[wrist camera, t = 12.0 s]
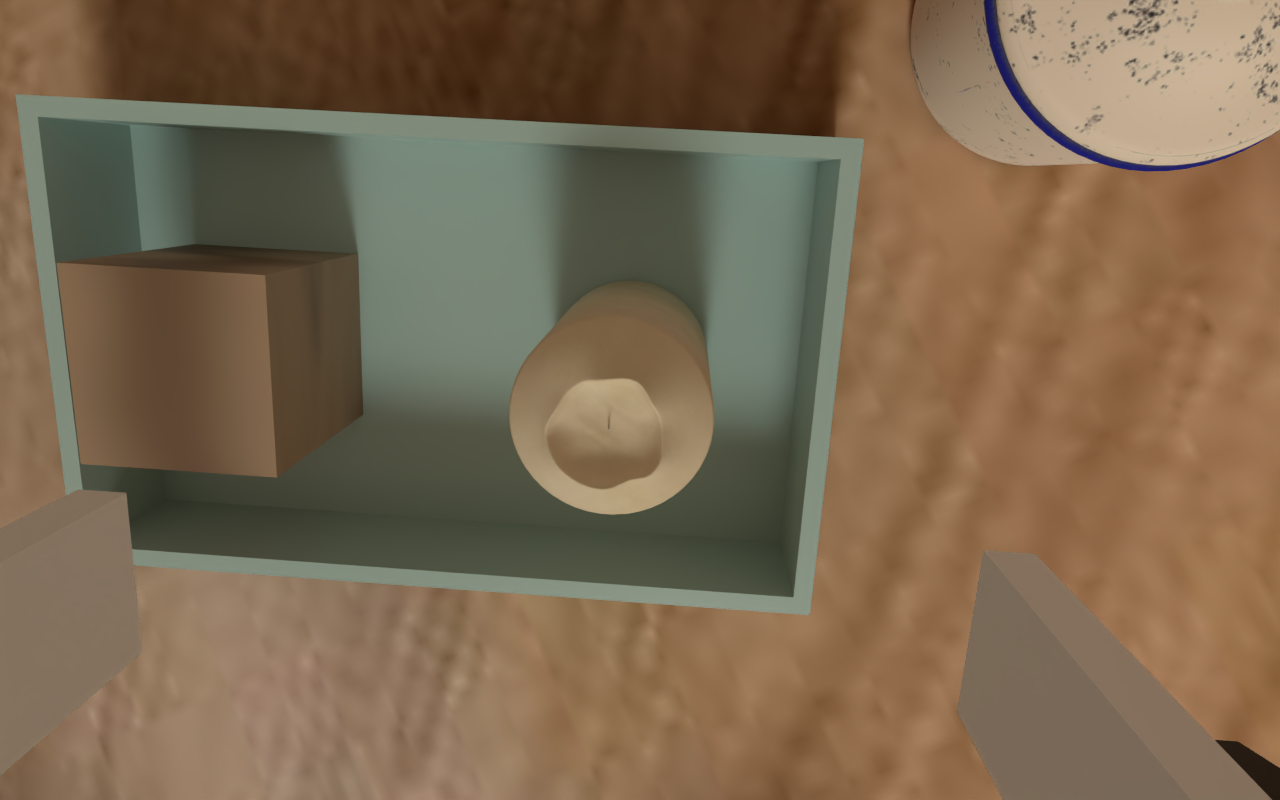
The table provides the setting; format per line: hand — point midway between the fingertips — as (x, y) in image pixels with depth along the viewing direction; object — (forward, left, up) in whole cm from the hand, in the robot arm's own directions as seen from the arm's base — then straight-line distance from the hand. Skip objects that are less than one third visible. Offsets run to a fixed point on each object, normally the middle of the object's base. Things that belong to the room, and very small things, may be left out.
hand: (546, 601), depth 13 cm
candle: (0, 0, -19) cm, 19 cm away
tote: (-6, 0, -19) cm, 20 cm away
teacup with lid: (+13, +13, -19) cm, 27 cm away
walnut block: (-13, 0, -19) cm, 23 cm away
